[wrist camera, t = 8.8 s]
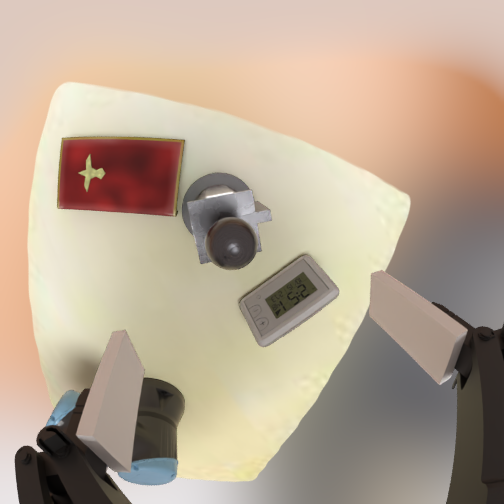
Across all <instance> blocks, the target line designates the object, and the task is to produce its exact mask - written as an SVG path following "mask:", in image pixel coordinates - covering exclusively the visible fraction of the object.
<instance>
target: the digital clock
mask: <svg viewBox="0 0 504 504" xmlns="http://www.w3.org/2000/svg"><path fill="white" fill-rule="evenodd" d="M338 295H339V289H338V287H337V286H336V285H335V283H334V282H333V281H332V280H331V279H330V278H329V276H328V275H327V274H326V273H325V272H324V271H323V270H322V268H321V267H320V266H319V265H318V264H317V263H316V262H315V261H314V259H313V258H312V257H311V256H309V255H304V256H301V257H300V258H298V259H297V260H296V261H294V262H293V263H291V264H290V265H289V266H287V267H286V268H285V269H283V270H282V271H280V272H279V273H278V274H276V275H275V276H273V277H272V278H271V279H269V280H268V281H266V282H265V283H264V284H262V285H261V286H259V287H258V288H257V289H255V290H254V291H252V292H251V293H250V294H248V295H247V296H245V297H244V298H243V299H242V300H241V302H240V309H241V311H242V313H243V315H244V317H245V319H246V321H247V323H248V325H249V327H250V329H251V331H252V333H253V335H254V337H255V339H256V341H257V343H258V345H259V346H261V347H266V346H269V345H271V344H272V343H274V342H275V341H277V340H278V339H280V338H281V337H284V336H285V335H286V334H288V333H289V332H291V331H292V330H294V329H295V328H297V327H298V326H300V325H301V324H302V323H304V322H305V321H307V320H308V319H309V318H311V317H312V316H314V315H315V314H316V313H318V312H319V311H321V310H322V308H324V307H325V306H326V305H328V304H329V303H330V302H332V301H333V300H334V299H335V298H337V296H338Z"/></svg>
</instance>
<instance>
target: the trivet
mask: <svg viewBox="0 0 504 504" xmlns="http://www.w3.org/2000/svg"><path fill="white" fill-rule="evenodd" d="M215 184H223V185H228V186H230V187H232V188H234V189H235V190H236V191H237V192H239V191H245V190H250V189H249V188H248V186H247V185H246V184H245V183H244V182H243V181H241V180H240V179H238V178H237V177H235V176H232V175H230V174H225V173H213V174H208V175H206V176H203V177H201V178H200V179H198V180H197V181H195V182H194V183H193V184H192V185H191V187H190V188H189V189H188V191H187V193H186V195H185V197H184V200H183V205H182V215H183V220H184V223H185V225H186V227H187V229H188V230H189V231H190V233H191V234H192V235H193V236H194V234H193V230H192V225H191V219H190V214H189V210H188V205H187V202H190V201H194V200H195V199H196V197H197V196H198V194H199V193H200V192H201V191H202V190H203V189H205V188H207V187H208V186H211V185H215ZM253 200H254V197H253ZM254 202H255V201H254Z"/></svg>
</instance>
